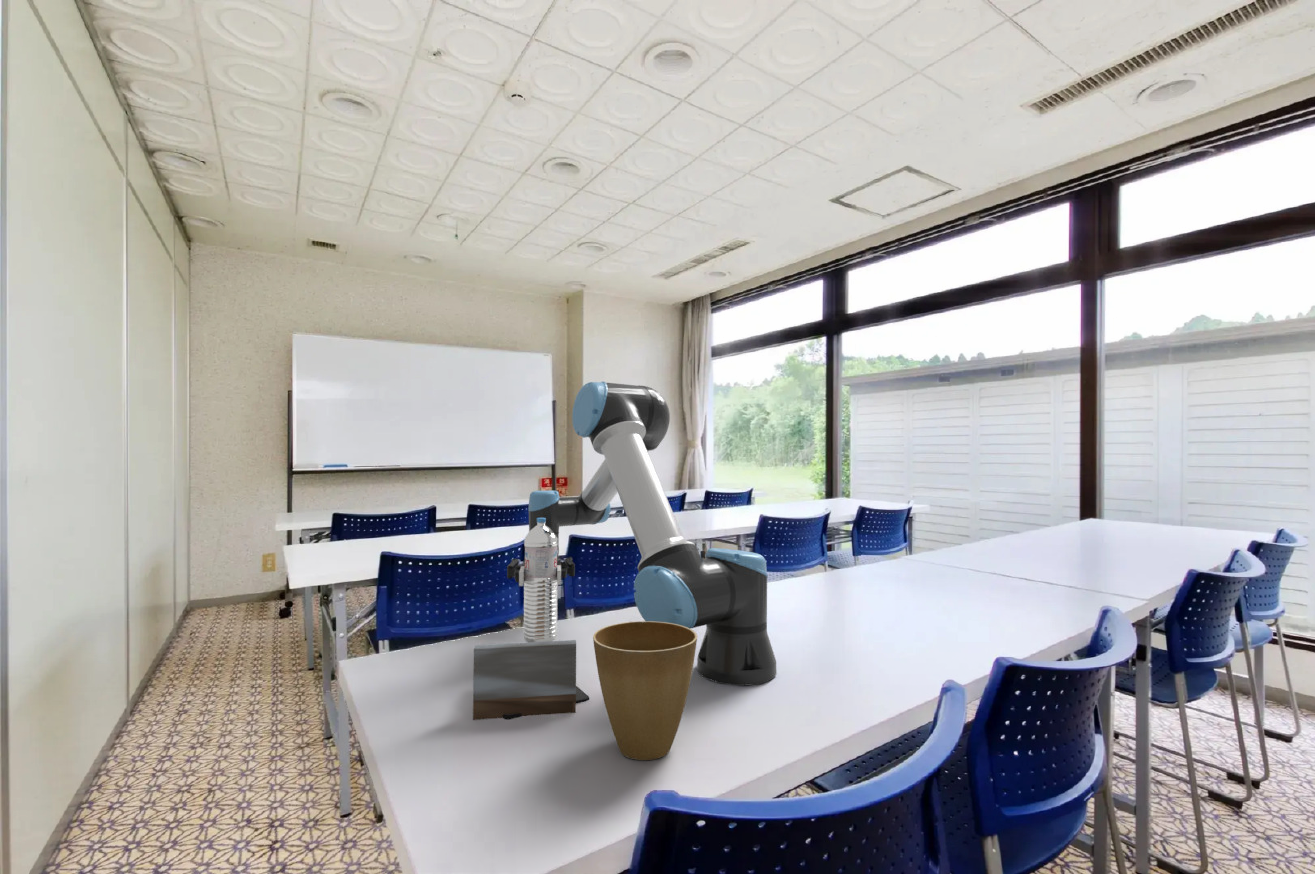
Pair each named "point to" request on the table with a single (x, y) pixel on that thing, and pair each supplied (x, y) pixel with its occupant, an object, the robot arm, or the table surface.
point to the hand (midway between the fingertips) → (540, 578)
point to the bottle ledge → (524, 679)
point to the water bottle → (540, 584)
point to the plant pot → (645, 683)
